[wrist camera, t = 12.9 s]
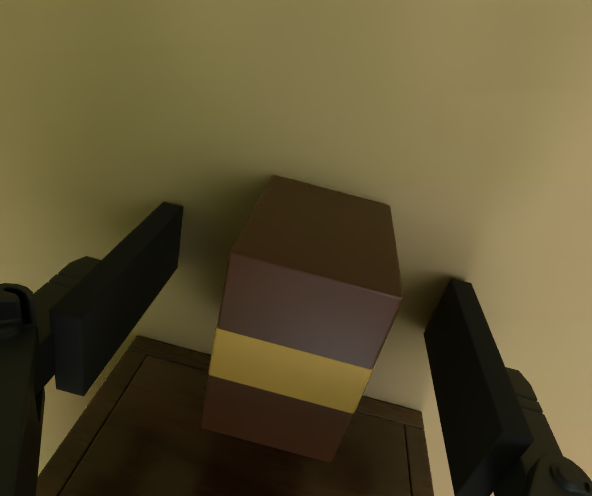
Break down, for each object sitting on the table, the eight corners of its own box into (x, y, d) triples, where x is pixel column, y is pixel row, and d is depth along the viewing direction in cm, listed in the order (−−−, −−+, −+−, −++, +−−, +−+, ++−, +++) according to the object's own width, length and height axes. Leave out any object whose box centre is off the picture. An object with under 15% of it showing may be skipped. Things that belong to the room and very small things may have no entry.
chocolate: (272, 173, 15) (228, 251, 10) (391, 205, 15) (405, 299, 10) (242, 317, 18) (198, 428, 13) (340, 343, 18) (332, 465, 13)
